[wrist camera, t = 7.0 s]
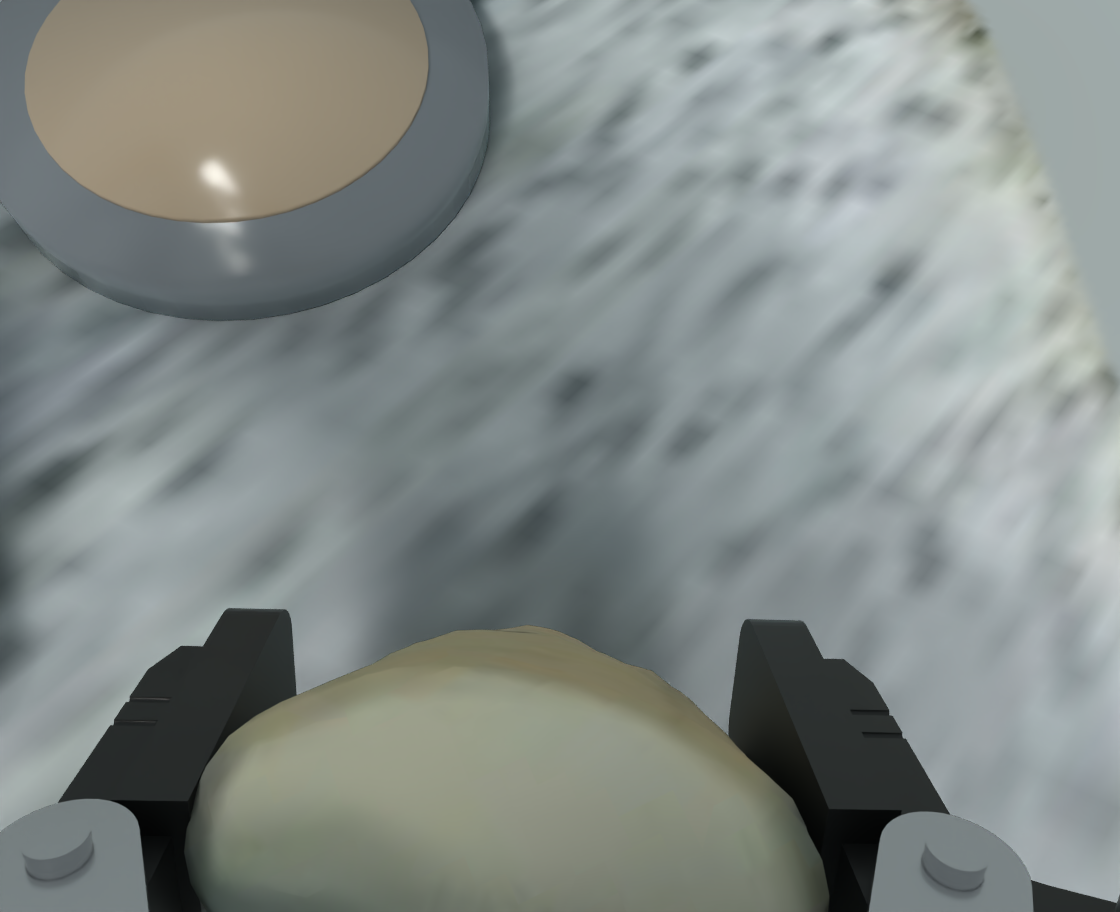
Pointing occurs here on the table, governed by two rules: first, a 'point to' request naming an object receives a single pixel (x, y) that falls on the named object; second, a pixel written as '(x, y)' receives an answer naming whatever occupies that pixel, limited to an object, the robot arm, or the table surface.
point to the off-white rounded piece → (495, 794)
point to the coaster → (238, 143)
